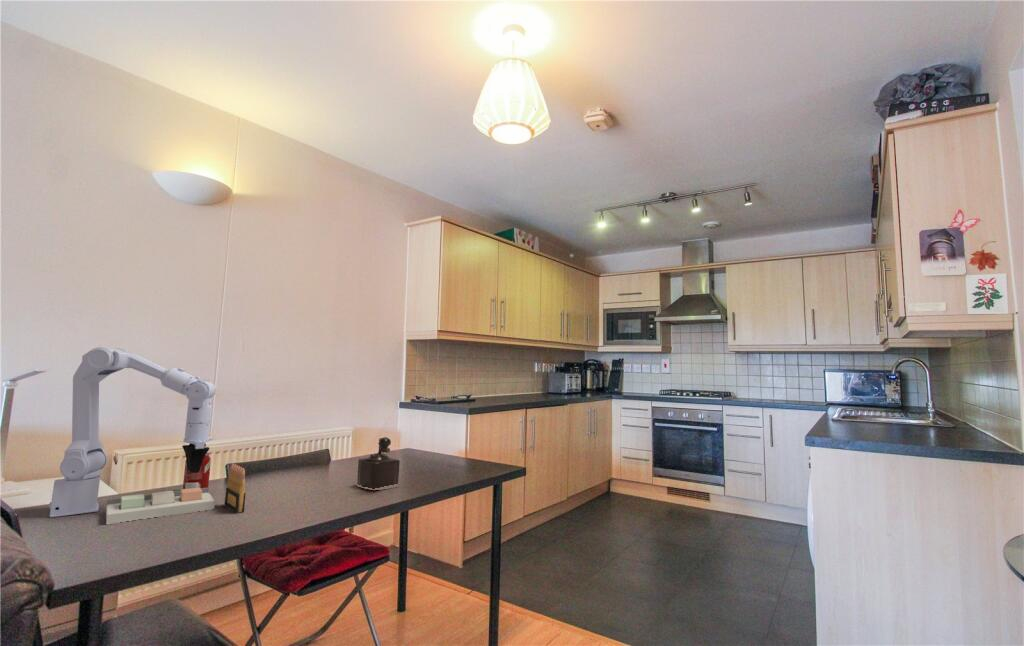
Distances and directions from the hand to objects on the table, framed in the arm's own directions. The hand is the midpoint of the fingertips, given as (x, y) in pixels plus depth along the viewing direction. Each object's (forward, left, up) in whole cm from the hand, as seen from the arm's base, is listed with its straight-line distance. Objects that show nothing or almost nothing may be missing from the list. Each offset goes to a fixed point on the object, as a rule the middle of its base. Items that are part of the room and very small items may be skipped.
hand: (193, 471), depth 135 cm
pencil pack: (+9, -8, -10) cm, 16 cm away
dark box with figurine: (+53, -9, -10) cm, 55 cm away
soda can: (+3, +17, -10) cm, 20 cm away
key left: (-13, 0, -8) cm, 15 cm away
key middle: (-6, 0, -8) cm, 11 cm away
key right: (0, 0, -8) cm, 8 cm away
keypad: (-7, 0, -10) cm, 12 cm away
